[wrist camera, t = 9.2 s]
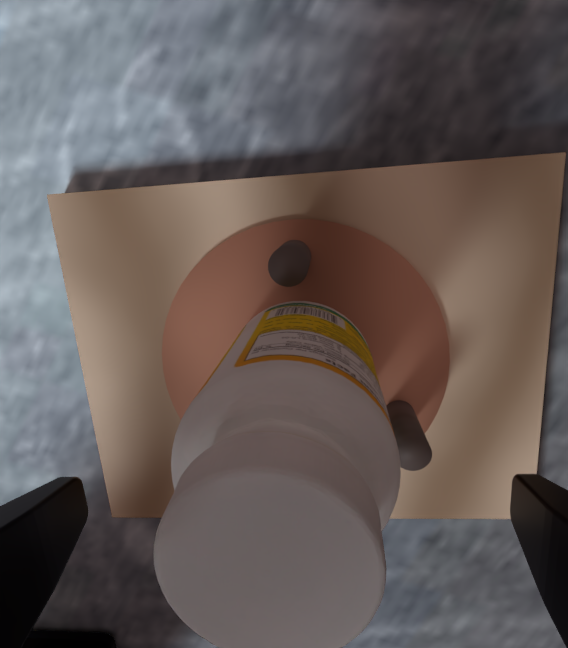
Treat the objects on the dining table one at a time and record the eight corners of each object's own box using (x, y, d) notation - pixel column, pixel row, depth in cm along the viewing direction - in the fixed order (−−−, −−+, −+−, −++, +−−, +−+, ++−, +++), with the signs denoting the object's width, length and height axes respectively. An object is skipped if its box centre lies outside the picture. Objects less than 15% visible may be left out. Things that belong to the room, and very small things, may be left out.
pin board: (122, 502, 20) (74, 571, 16) (62, 195, 17) (-16, 191, 13) (521, 502, 18) (574, 581, 14) (550, 155, 15) (629, 136, 11)
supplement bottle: (320, 270, 15) (314, 364, 6) (398, 386, 16) (497, 624, 7) (204, 348, 16) (50, 524, 7) (282, 452, 17) (234, 729, 8)
